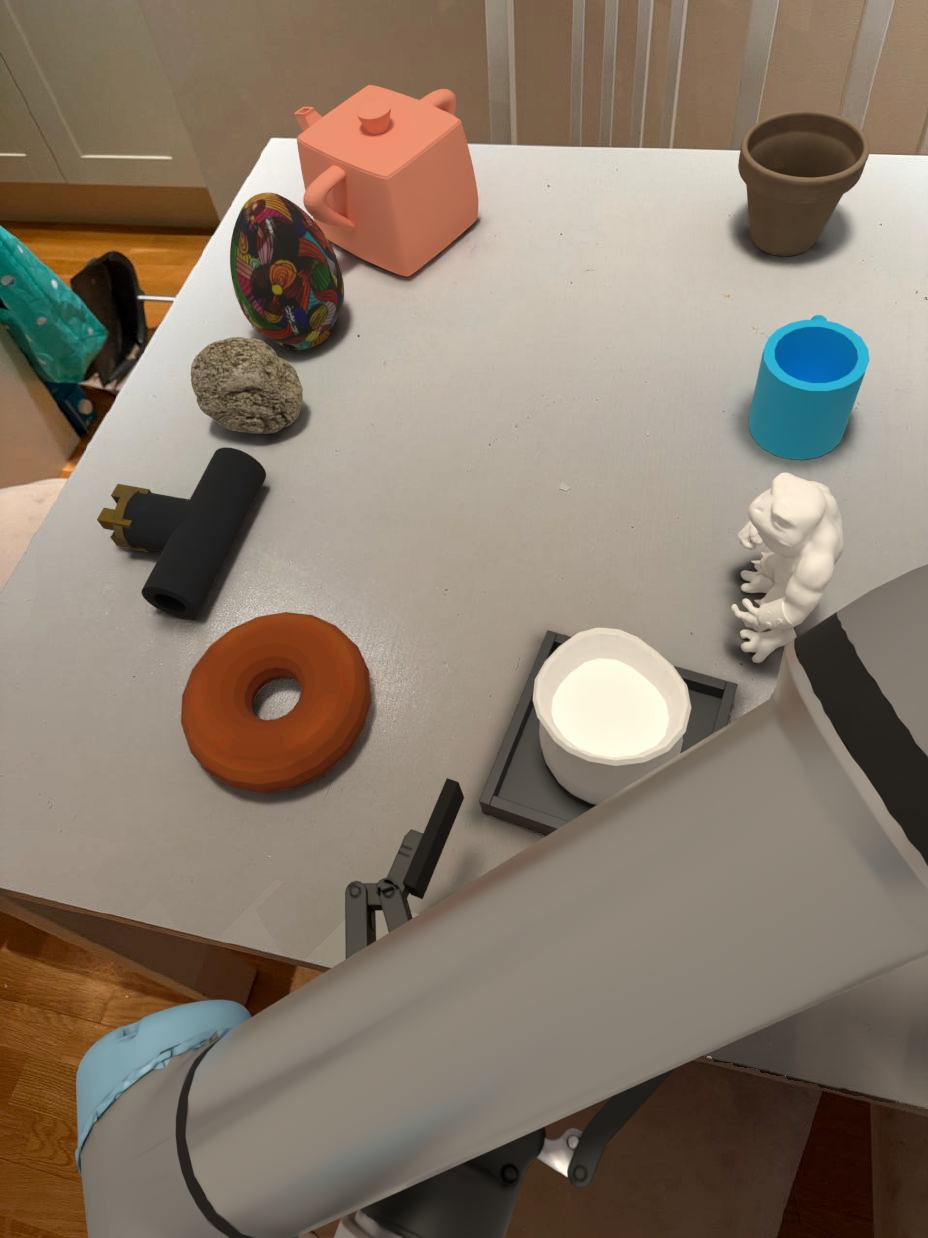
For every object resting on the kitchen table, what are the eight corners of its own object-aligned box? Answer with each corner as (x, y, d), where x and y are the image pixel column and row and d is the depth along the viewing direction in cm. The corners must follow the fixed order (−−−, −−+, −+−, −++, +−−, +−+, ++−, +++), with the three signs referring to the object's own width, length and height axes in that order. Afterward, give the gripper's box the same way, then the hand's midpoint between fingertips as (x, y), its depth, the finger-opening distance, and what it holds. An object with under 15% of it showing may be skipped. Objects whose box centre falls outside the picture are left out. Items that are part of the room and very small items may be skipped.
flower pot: (846, 204, 93) (872, 107, 84) (842, 276, 87) (869, 182, 79) (732, 199, 95) (747, 105, 87) (721, 269, 90) (735, 177, 81)
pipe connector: (62, 567, 74) (141, 432, 81) (92, 600, 78) (164, 470, 85) (185, 592, 71) (256, 450, 78) (208, 624, 76) (273, 488, 83)
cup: (556, 679, 68) (550, 614, 60) (688, 704, 66) (702, 640, 57) (527, 795, 63) (517, 743, 55) (668, 827, 61) (679, 777, 53)
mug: (840, 466, 76) (865, 397, 69) (741, 452, 78) (756, 384, 71) (852, 366, 81) (877, 293, 74) (760, 355, 83) (776, 283, 76)
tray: (733, 697, 66) (738, 683, 64) (681, 882, 60) (684, 873, 58) (548, 644, 70) (547, 629, 68) (482, 812, 64) (478, 801, 62)
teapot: (513, 198, 100) (502, 71, 88) (379, 311, 93) (347, 189, 81) (387, 146, 108) (362, 23, 96) (256, 246, 101) (211, 127, 89)
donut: (161, 770, 69) (133, 745, 65) (247, 613, 76) (226, 581, 71) (331, 828, 65) (312, 805, 61) (406, 656, 71) (394, 625, 67)
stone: (297, 452, 84) (264, 374, 76) (206, 441, 87) (163, 364, 78) (319, 404, 87) (289, 323, 79) (230, 394, 89) (191, 315, 81)
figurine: (812, 680, 66) (866, 569, 53) (720, 672, 67) (751, 561, 55) (809, 561, 71) (857, 433, 59) (724, 555, 73) (752, 429, 60)
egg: (236, 352, 93) (179, 225, 80) (288, 286, 97) (242, 155, 84) (323, 375, 89) (278, 246, 76) (372, 305, 94) (337, 173, 81)
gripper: (225, 1126, 49) (384, 779, 58) (672, 1356, 42) (773, 918, 51) (169, 1124, 42) (357, 734, 52) (687, 1395, 35) (799, 885, 44)
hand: (564, 824), depth 51 cm, fingers open, 13 cm apart
